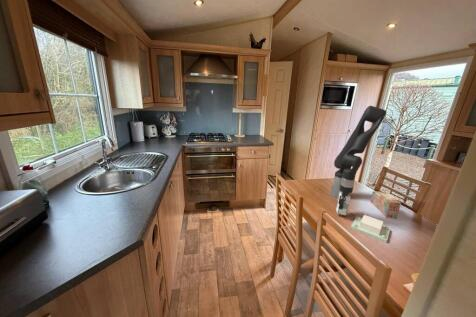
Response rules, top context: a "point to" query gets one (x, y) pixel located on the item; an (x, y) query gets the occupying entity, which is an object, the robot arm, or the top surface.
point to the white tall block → (345, 206)
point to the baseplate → (380, 237)
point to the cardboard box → (386, 204)
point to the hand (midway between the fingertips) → (342, 206)
